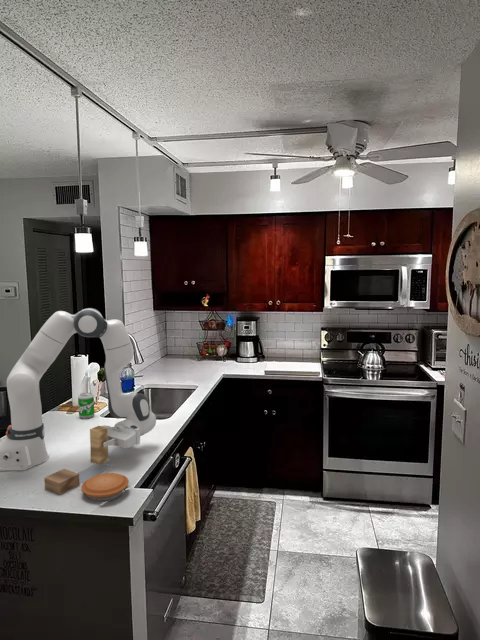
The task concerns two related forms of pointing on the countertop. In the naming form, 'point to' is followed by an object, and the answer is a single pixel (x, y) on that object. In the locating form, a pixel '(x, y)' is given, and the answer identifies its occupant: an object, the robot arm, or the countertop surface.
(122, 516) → the countertop surface
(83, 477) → the slate board
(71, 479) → the walnut plinth
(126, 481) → the pie
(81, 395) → the soda can
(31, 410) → the robot arm
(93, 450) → the oak post
